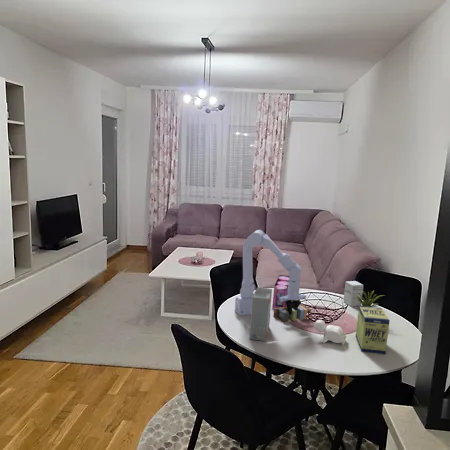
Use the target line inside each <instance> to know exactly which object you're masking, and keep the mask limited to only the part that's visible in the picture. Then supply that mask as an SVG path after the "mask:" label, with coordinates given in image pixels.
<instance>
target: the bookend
mask: <svg viewBox="0 0 450 450" xmlns="http://www.w3.org/2000/svg"><path fill="white" fill-rule="evenodd" d="M278 318H279V319H280V320H282V321H283V323H288V322H287V321H289V312H288V311H286V310H285V309H283V308H282V309H278Z"/></svg>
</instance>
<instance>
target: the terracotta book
mask: <svg viewBox="0 0 450 450" xmlns="http://www.w3.org/2000/svg"><path fill="white" fill-rule="evenodd" d="M299 307H300V308H302V309H303V310H304V318H303V319H306V320H308V319H307V317H306V314H307V313H308V309H306V308H305V307H303V306H302V305H300V306H299Z"/></svg>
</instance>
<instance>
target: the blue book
mask: <svg viewBox="0 0 450 450" xmlns="http://www.w3.org/2000/svg"><path fill="white" fill-rule="evenodd" d="M296 317H297V318H299V319H300V320H299V321H303V320H302V319H303V318H304V310H303V309H302V308H300V307H299V306H298V308H297V315H296Z"/></svg>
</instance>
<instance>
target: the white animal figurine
mask: <svg viewBox="0 0 450 450" xmlns="http://www.w3.org/2000/svg"><path fill="white" fill-rule="evenodd" d="M314 329H315V330H316V331H317V332H319V333H322V332H323V331H324V332H323V336H324V337H322V339H321V343H322V344H325V343H326V342H328V341H331V342H332V343H337V344H341V345H342V347H344V344H345V343H346V341H347V340H346V339H347V335H346V334H345V332H344V331H343V329H342V327H340V326H339V325H332V324H329V325H327V326H326V323H325V321H324V320H322V319H317V320H316V321H315V322H314Z"/></svg>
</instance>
